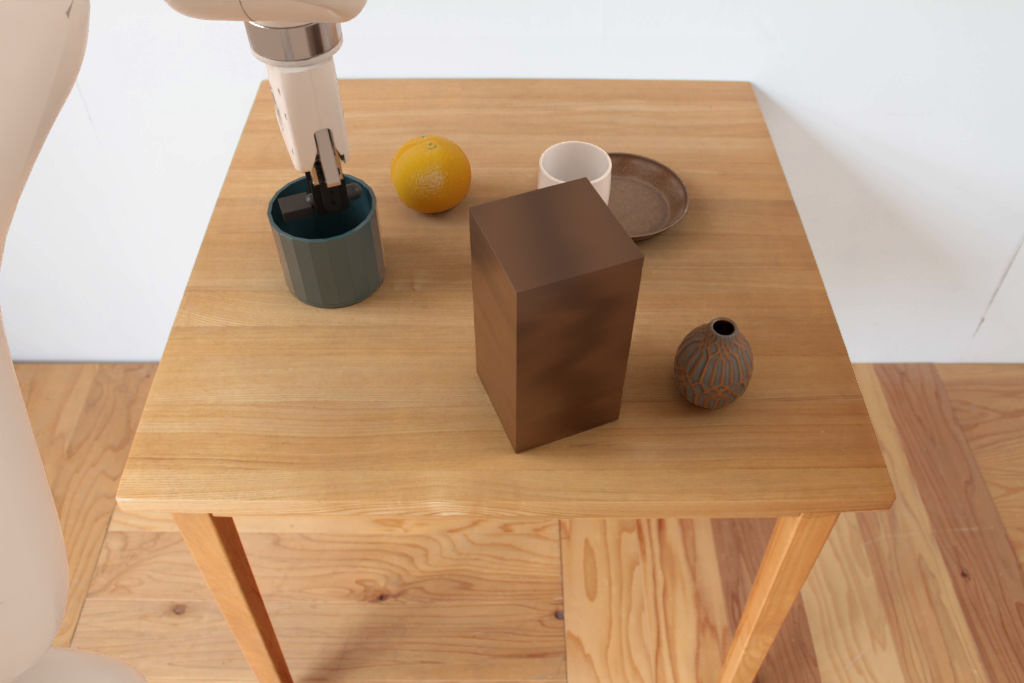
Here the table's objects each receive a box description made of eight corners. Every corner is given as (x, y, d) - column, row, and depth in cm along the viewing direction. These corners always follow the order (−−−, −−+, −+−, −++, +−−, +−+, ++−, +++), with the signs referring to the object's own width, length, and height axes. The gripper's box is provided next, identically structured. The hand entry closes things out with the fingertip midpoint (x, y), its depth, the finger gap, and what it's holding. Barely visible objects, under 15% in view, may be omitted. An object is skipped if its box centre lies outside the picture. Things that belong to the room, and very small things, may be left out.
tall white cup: (601, 304, 86) (615, 185, 75) (534, 303, 86) (538, 184, 75) (598, 258, 91) (610, 140, 79) (534, 257, 91) (538, 139, 79)
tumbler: (298, 319, 85) (279, 253, 78) (276, 253, 91) (258, 186, 84) (398, 292, 87) (388, 225, 81) (371, 229, 94) (360, 162, 87)
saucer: (656, 161, 102) (659, 142, 100) (706, 241, 92) (711, 222, 90) (538, 181, 99) (538, 162, 97) (576, 266, 90) (578, 247, 88)
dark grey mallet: (285, 223, 81) (281, 210, 80) (280, 208, 82) (276, 195, 81) (366, 203, 83) (363, 190, 82) (359, 189, 84) (357, 175, 83)
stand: (515, 454, 74) (516, 293, 59) (476, 371, 80) (468, 206, 65) (618, 419, 77) (645, 256, 62) (573, 342, 83) (586, 176, 68)
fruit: (449, 171, 100) (445, 112, 94) (485, 208, 96) (483, 149, 90) (382, 197, 97) (374, 138, 91) (415, 237, 93) (409, 177, 87)
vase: (665, 360, 81) (679, 296, 75) (738, 362, 81) (758, 298, 74) (672, 419, 77) (686, 356, 70) (749, 421, 77) (771, 359, 70)
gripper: (230, -9, 73) (275, 166, 87) (266, 86, 63) (310, 266, 77) (317, -25, 75) (347, 149, 88) (364, 66, 65) (390, 245, 79)
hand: (330, 202), depth 83 cm, fingers closed on dark grey mallet, 1 cm apart
